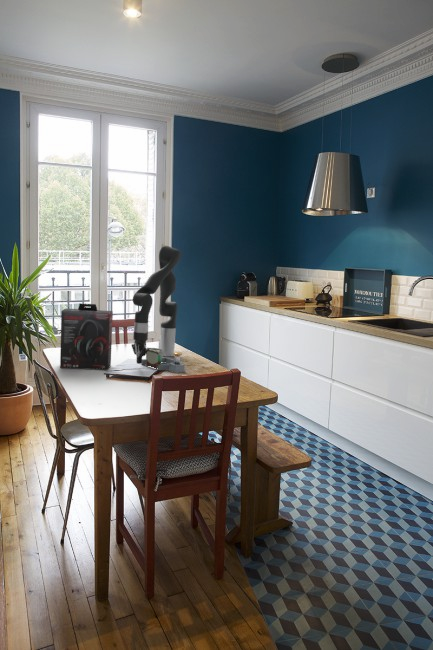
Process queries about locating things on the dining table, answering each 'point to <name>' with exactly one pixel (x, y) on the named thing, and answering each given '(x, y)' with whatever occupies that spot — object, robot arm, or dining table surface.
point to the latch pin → (177, 357)
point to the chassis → (169, 365)
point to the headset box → (86, 338)
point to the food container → (154, 357)
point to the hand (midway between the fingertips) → (139, 363)
